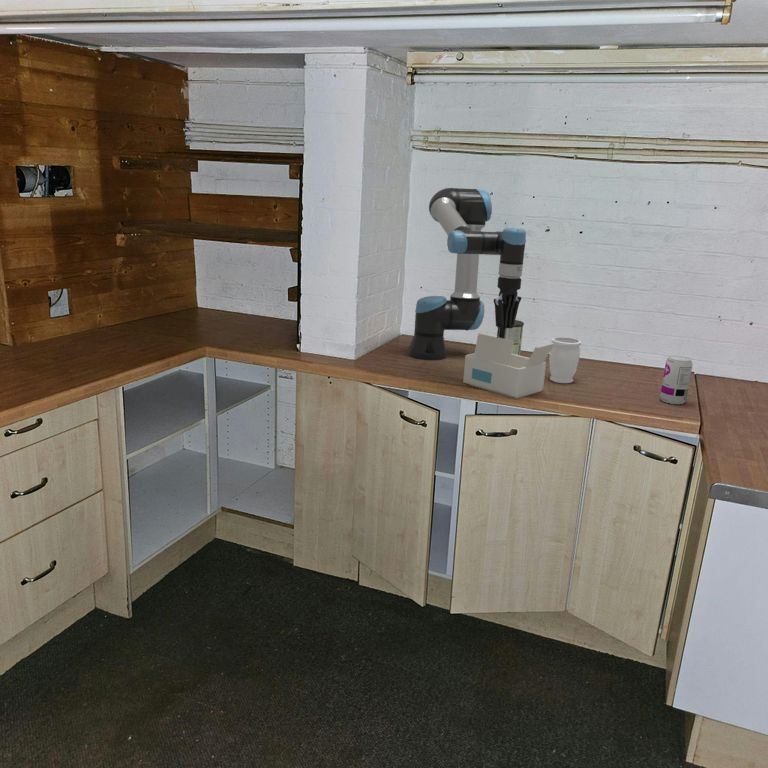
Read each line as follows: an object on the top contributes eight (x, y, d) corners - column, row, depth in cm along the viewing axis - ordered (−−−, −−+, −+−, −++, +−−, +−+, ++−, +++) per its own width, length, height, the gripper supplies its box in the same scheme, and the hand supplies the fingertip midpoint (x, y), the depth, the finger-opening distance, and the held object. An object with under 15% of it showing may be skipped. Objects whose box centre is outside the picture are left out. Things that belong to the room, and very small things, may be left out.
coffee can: (490, 352, 288) (493, 319, 284) (512, 352, 291) (516, 319, 287) (502, 359, 278) (505, 324, 274) (524, 358, 282) (528, 324, 278)
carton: (461, 383, 242) (464, 355, 239) (490, 375, 253) (492, 348, 251) (515, 399, 227) (519, 369, 224) (543, 390, 238) (547, 362, 236)
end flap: (535, 346, 222) (537, 347, 221) (552, 342, 229) (553, 343, 228) (525, 366, 226) (526, 368, 226) (541, 362, 233) (543, 363, 233)
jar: (554, 375, 259) (559, 335, 255) (580, 380, 253) (586, 340, 248) (541, 380, 251) (546, 339, 247) (568, 386, 245) (573, 344, 240)
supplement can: (659, 403, 231) (667, 359, 227) (659, 396, 238) (666, 354, 234) (685, 406, 228) (693, 362, 224) (685, 400, 236) (692, 357, 231)
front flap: (474, 356, 236) (473, 356, 235) (479, 333, 235) (478, 333, 234) (509, 365, 226) (508, 365, 226) (513, 341, 225) (512, 341, 225)
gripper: (508, 279, 220) (500, 351, 227) (530, 277, 229) (523, 346, 236) (488, 276, 225) (482, 347, 232) (511, 274, 234) (504, 342, 241)
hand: (502, 346), depth 234 cm, fingers closed
